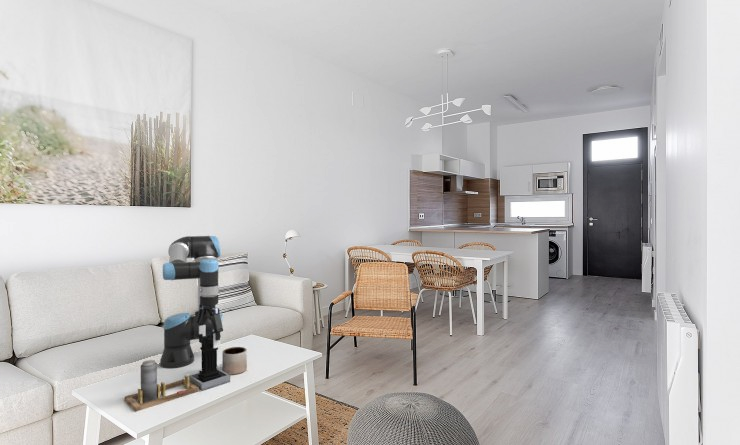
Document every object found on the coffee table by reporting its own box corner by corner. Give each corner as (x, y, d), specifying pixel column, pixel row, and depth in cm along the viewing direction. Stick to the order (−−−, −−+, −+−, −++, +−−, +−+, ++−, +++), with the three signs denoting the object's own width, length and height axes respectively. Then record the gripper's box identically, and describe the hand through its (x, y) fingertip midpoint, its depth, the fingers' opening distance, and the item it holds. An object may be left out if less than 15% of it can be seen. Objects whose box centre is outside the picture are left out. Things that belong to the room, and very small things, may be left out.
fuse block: (124, 400, 158) (123, 362, 158) (185, 382, 176) (185, 348, 175) (135, 411, 149) (135, 371, 149) (199, 391, 166) (198, 355, 166)
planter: (221, 376, 182) (221, 355, 182) (223, 367, 192) (223, 347, 192) (246, 374, 185) (246, 353, 185) (246, 365, 195) (246, 345, 195)
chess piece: (214, 375, 181) (214, 330, 181) (222, 380, 175) (221, 334, 175) (196, 380, 176) (196, 334, 176) (203, 385, 170) (203, 338, 170)
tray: (188, 382, 175) (188, 375, 175) (216, 374, 185) (216, 367, 185) (201, 391, 167) (201, 383, 167) (230, 381, 176) (230, 375, 176)
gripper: (188, 292, 181) (188, 338, 181) (214, 301, 164) (214, 353, 165) (204, 289, 186) (204, 335, 187) (231, 298, 169) (231, 348, 170)
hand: (209, 343), depth 176 cm, fingers open, 13 cm apart
